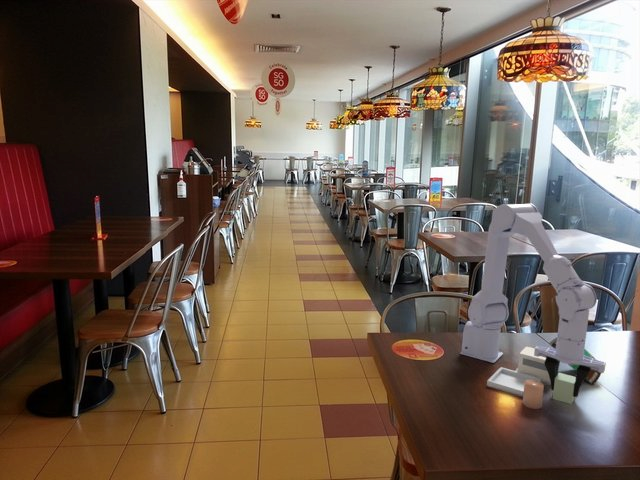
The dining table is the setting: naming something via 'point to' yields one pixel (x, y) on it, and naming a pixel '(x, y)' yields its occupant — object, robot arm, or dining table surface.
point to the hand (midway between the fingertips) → (564, 392)
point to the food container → (593, 374)
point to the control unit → (533, 365)
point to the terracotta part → (533, 394)
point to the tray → (510, 381)
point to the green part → (564, 388)
